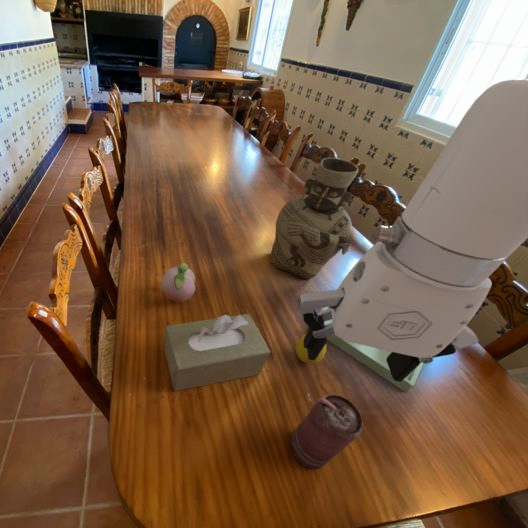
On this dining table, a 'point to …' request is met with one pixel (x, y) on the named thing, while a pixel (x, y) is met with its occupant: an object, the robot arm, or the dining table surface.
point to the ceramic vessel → (315, 221)
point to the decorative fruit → (179, 283)
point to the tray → (373, 359)
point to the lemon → (304, 355)
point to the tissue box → (214, 351)
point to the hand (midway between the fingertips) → (350, 360)
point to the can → (325, 431)
